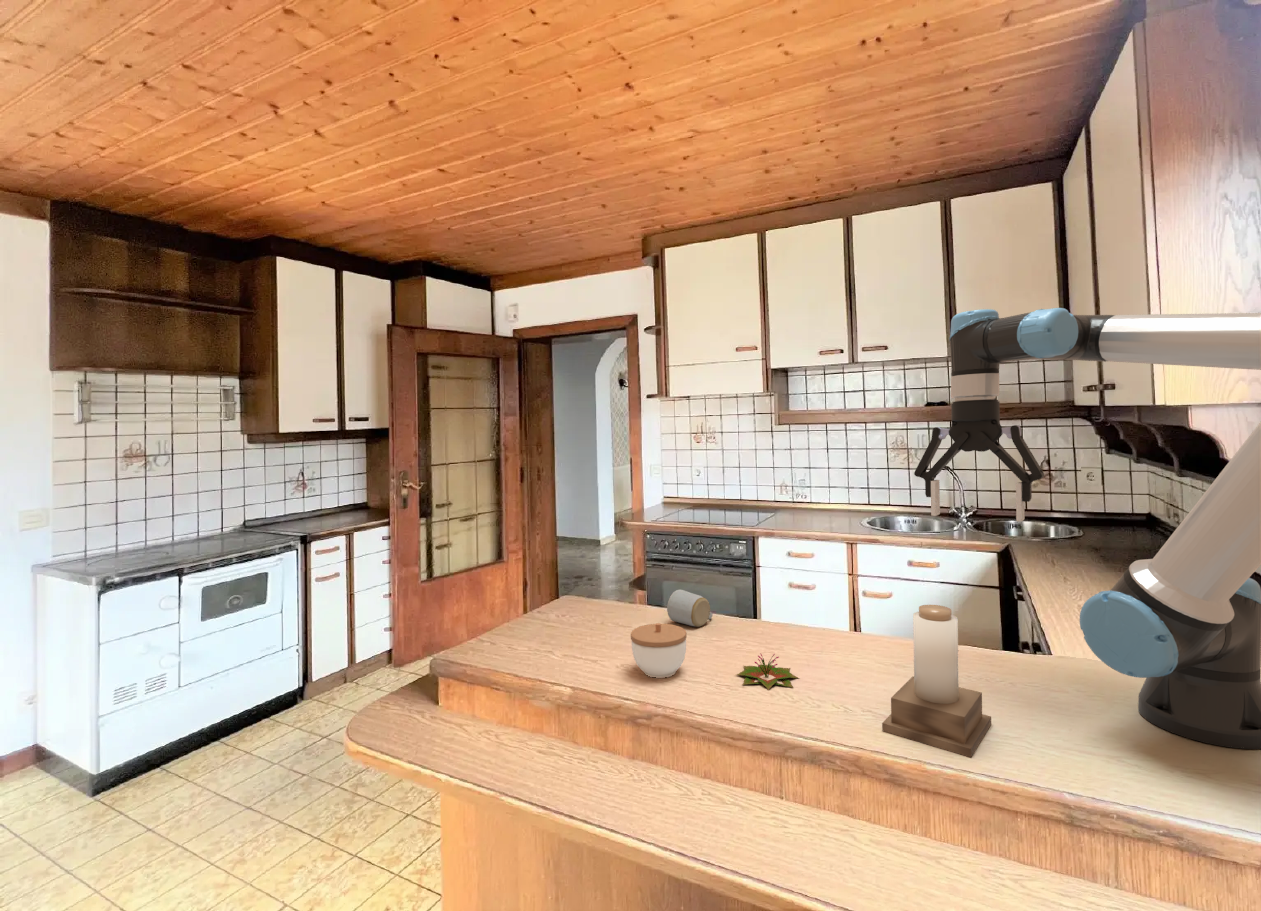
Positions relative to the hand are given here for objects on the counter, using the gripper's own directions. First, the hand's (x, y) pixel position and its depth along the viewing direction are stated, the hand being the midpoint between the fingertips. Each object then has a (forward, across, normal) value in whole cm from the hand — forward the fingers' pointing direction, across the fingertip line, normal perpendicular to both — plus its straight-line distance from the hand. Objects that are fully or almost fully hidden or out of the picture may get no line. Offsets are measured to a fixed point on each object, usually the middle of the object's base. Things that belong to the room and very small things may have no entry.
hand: (976, 517), depth 110 cm
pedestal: (+29, 0, +25) cm, 38 cm away
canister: (+24, 0, +25) cm, 34 cm away
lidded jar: (+29, +47, +34) cm, 65 cm away
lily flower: (+29, +30, +24) cm, 48 cm away
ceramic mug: (+29, +60, +6) cm, 67 cm away
